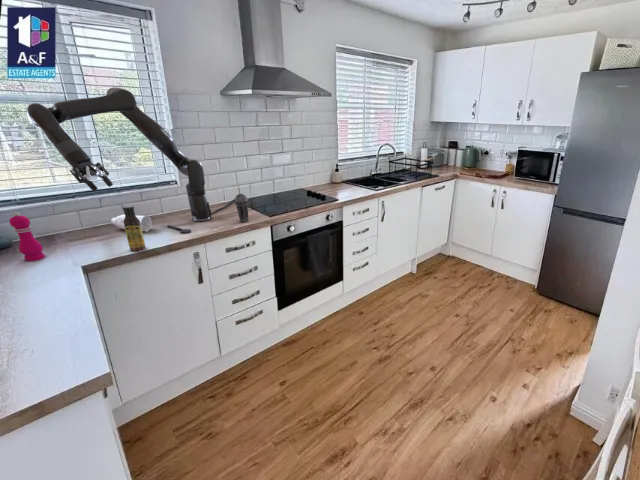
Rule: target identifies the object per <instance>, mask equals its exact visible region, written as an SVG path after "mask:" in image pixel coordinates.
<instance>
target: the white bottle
mask: <svg viewBox="0 0 640 480" xmlns="http://www.w3.org/2000/svg"><path fill="white" fill-rule="evenodd" d="M135 216H136V217H137V218H138V219H139V221H140V225H141V229H142V232H149V231H150V230H151V229H152V227H153V224H152V223H153V221H152V218H151V217H150V216H148V215H136V214H135ZM124 219H125V214H120V215H117V216H116V217H111V219H110V223H111V224H112V225H114V226H115V227H116V228H119V229H122V230H123V231H125V226H124Z"/></svg>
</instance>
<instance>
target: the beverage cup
mask: <svg viewBox="0 0 640 480" xmlns="http://www.w3.org/2000/svg"><path fill="white" fill-rule="evenodd" d="M237 189H238V194H237V195H235V198H234V199H235V201H234V204H235V206H236V210H237V211H236V212H237V215H238V218H239V222H240V223H247V222H249V200H248V197H247V196H246V195H245V194H243V193H241V191H240V190H241V189H240V186H237Z"/></svg>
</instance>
